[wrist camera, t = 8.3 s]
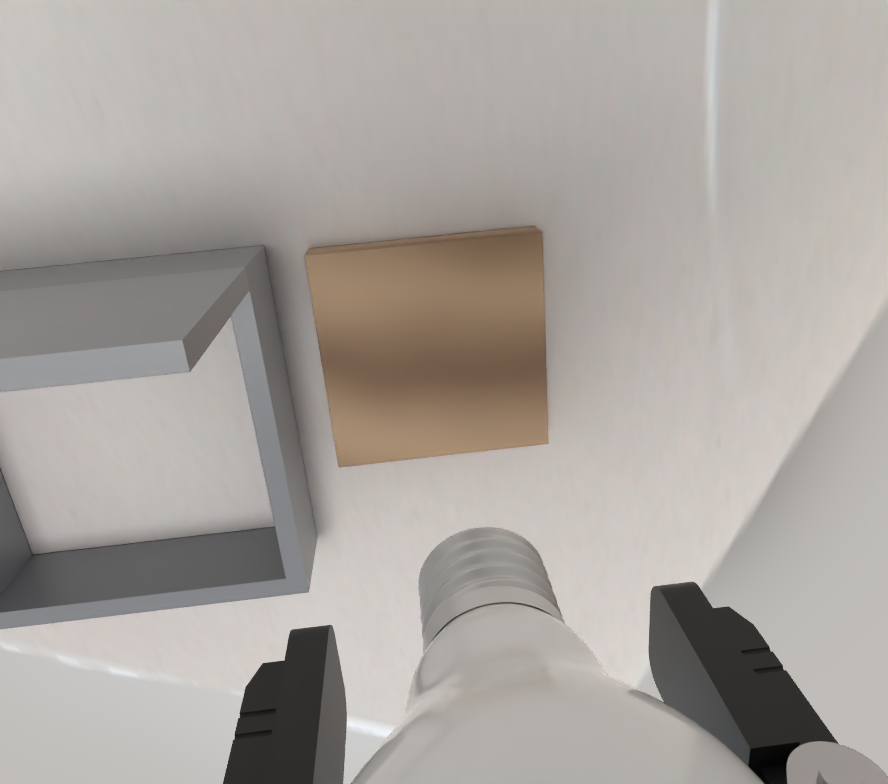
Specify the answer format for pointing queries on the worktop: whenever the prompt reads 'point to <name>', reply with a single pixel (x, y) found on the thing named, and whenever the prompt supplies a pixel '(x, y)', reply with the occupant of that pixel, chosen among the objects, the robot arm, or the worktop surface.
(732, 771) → the lightbulb
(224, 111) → the worktop surface
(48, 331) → the case
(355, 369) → the stand
